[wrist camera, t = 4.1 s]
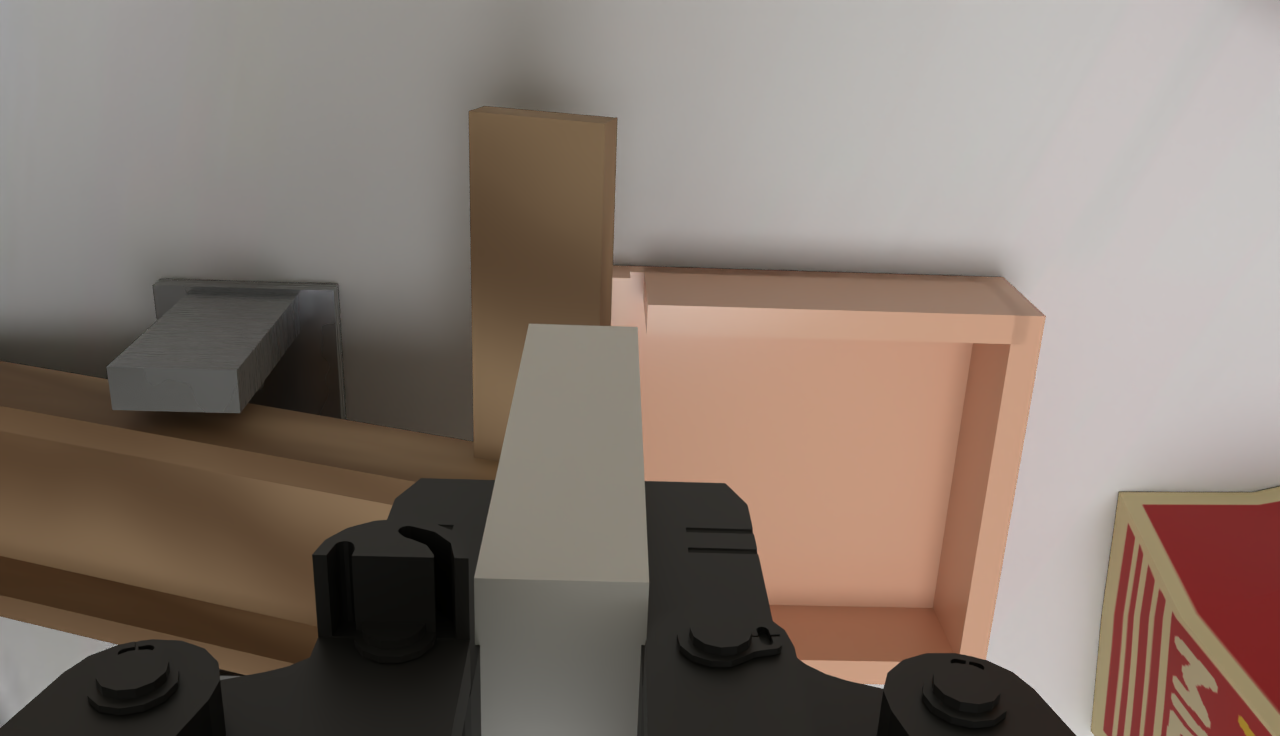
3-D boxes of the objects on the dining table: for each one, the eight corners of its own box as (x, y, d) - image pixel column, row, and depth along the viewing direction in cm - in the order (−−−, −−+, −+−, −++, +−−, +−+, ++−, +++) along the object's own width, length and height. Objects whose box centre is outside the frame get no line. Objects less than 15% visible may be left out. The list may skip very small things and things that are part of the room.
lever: (610, 681, 30) (566, 762, 27) (-111, 522, 37) (-210, 574, 34) (630, 111, 25) (578, 136, 22) (-218, 37, 31) (-347, 48, 28)
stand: (355, 586, 37) (306, 716, 31) (195, 583, 37) (115, 713, 31) (338, 283, 33) (279, 365, 27) (160, 278, 33) (61, 359, 27)
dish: (949, 619, 38) (981, 685, 35) (582, 612, 37) (580, 679, 34) (1003, 277, 34) (1045, 316, 30) (591, 264, 33) (589, 303, 30)
